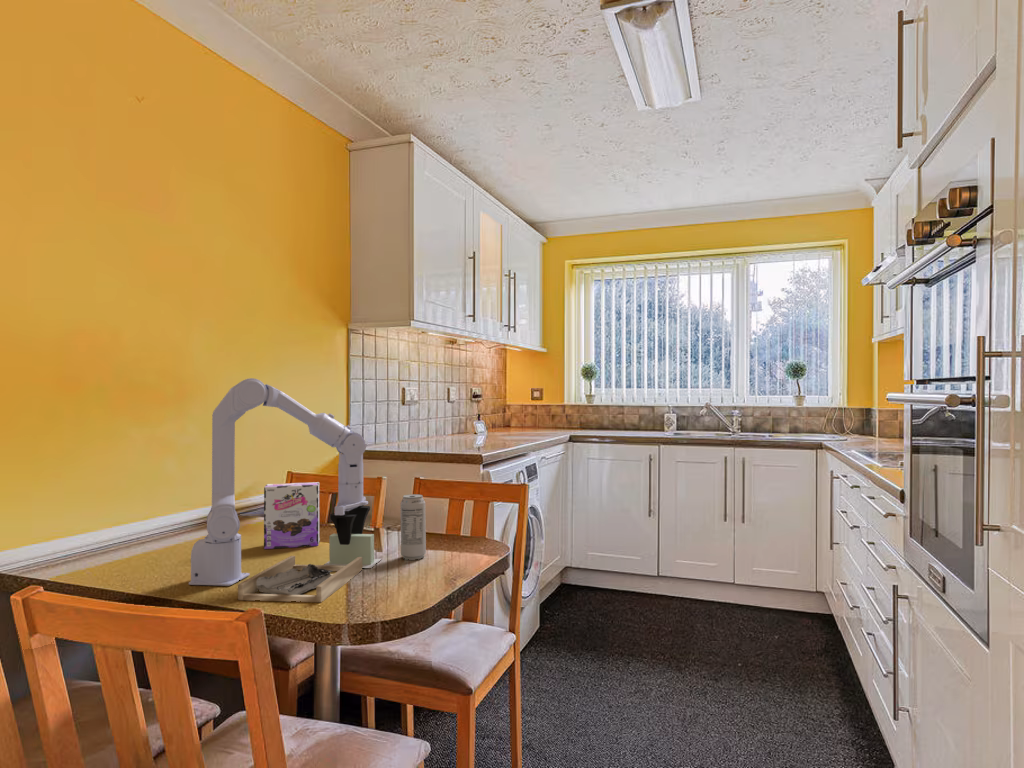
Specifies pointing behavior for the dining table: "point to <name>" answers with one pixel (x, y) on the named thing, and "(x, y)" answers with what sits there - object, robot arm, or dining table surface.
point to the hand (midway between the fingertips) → (350, 540)
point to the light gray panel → (362, 564)
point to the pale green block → (352, 549)
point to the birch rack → (322, 590)
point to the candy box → (291, 515)
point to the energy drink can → (413, 527)
